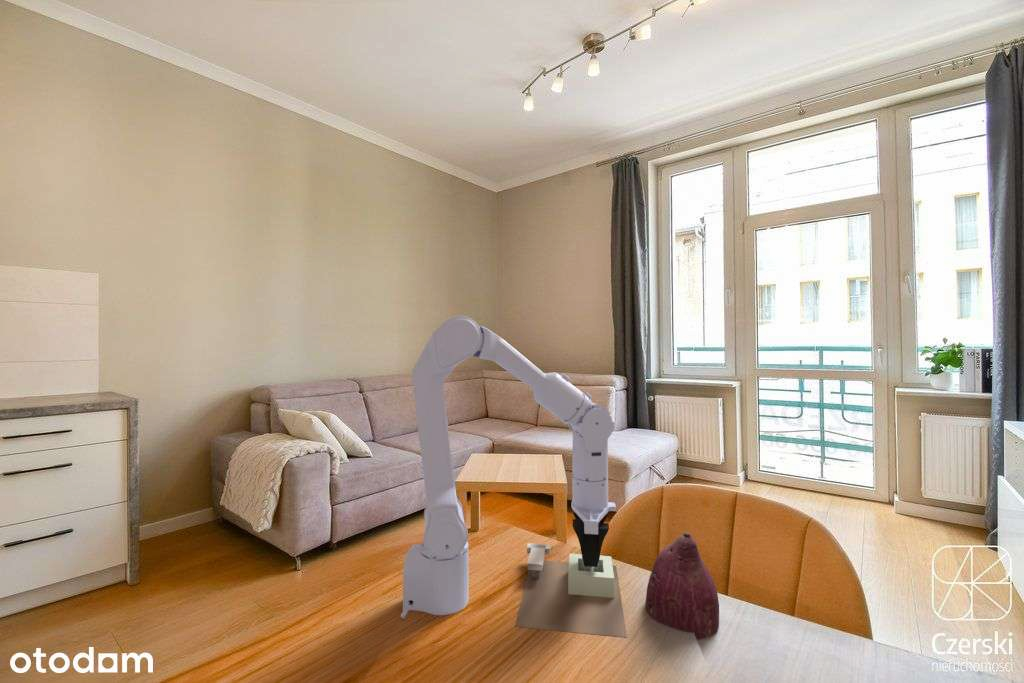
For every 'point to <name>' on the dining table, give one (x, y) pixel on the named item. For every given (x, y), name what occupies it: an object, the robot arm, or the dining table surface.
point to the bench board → (565, 601)
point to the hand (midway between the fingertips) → (590, 560)
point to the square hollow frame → (590, 577)
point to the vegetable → (683, 590)
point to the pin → (591, 568)
